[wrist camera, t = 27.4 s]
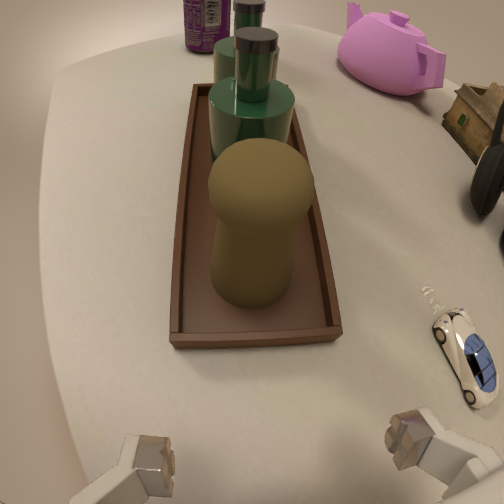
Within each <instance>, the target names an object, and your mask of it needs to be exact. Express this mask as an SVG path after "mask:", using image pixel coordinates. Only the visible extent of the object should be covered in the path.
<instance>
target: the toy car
mask: <svg viewBox="0 0 504 504" xmlns="http://www.w3.org/2000/svg"><path fill="white" fill-rule="evenodd" d="M426 287H427V286H426ZM429 288H430V287H429ZM423 289H424V288H423ZM425 289H427V288H425ZM421 290H422V289H421ZM431 290H432V289H431ZM433 291H434V290H433ZM427 292H428V291H427ZM430 292H431V291H429V293H430ZM425 293H426V292H425ZM426 294H428V293H426ZM423 295H424V294H423ZM432 299H433V298H432ZM432 299H431V300H432ZM432 302H433V301H432ZM429 304H430V303H429ZM436 306H437V305H436ZM436 306H435V307H436ZM439 307H440V306H439ZM439 307H437V308H439ZM441 308H444V307H441ZM434 310H436V308H435V309H434ZM436 312H437V311H436ZM448 312H452V313H451V314H450V313H449V314H450V315H454V313H453V312H455V313H456V312H457V313H456V314H455V315H454V317H453V320H452V321H451V319H450V317H449V316H448V315H449V314H447V312H446V314H443V315H442V316H441V317H440V318H439V319H438V320H437V321H436V323H435V325H434V328H435V327H437V328H436V329H435V331H434V335H435V338H436V339H437V341H438V342H440V343H444V342H445V341H446V342H445V343H444V344H443V345H442V347H443V349H444V351H445V353H446V355H447V356H448V358H449V360H450V362H451V364H452V366H453V368H454V370H455V372H456V374H457V375H458V377H459V379H460V380H461V384H462V388H463V390H466V391H465V393H464V398H465V400H466V401H467V402H468V403H470V404H472V405H471V406H472V407H474V408H482V407H484V406H486V405H488V404H489V403H491V402H492V401H493V400H494V399H495V397H496V396H497V395H498V393H499V388H500V377H499V373H498V371H497V369H496V368H495V366H494V363H493V359H492V358H491V355H490V353H489V351H488V349H487V347H486V346H485V345H484V341H483V340H482V339H481V337H480V336H479V334H478V333H477V331H476V330H475V329H474V326H473V322H472V319H471V316H470V314H469V313H468V312H467V311H466V310H465V309H462V308H458V309H457V308H455V309H454V310H451V311H448ZM432 314H434V313H432ZM444 320H445V321H444ZM443 322H444V323H443Z"/></svg>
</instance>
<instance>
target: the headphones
mask: <svg viewBox="0 0 504 504" xmlns="http://www.w3.org/2000/svg"><path fill="white" fill-rule="evenodd" d="M503 125H504V100H503V102H502V104H501V107H500V109H499V112H498V116H497V119H496V123H495V126H494V130H493V134H492V138H491V142H490V146H487V147H486V148H485V150H484V151H483V153H482V155H481V157H480V159H479V161H478V163H477V165H476V168H475V171H474V174H473V177H472V181H471V185H470V190H469V194H470V196H471V201H472V204H473V207H474V209H475V210H476V211H477V212H479V213H480V214H484V215H487V214H489V213H490V212H491V211H492V210H493V208H494V207H495V205H496V203H497V201H498V199H499V197H500V195H501V192H502V190H503V187H504V143H503V142H500V139H501V135H502V130H503Z"/></svg>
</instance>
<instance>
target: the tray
mask: <svg viewBox="0 0 504 504" xmlns="http://www.w3.org/2000/svg"><path fill="white" fill-rule="evenodd" d="M213 85H214V83H209V84H193V90H192V96H191V102H190V108H189V115H188V122H187V128H186V136H185V143H184V150H183V158H182V166H181V175H180V184H179V193H178V203H177V214H176V225H175V237H174V250H173V265H172V282H171V303H170V334H169V341H170V343H171V344H172V345H173V347H174V348H240V347H263V346H281V345H296V344H308V343H320V342H331V341H335V340H336V339H337V338H338V337H340V336H341V335H342V334H343V331H342V326H341V325H342V324H341V318H340V312H339V306H338V300H337V294H336V288H335V282H334V277H333V271H332V266H331V261H330V256H329V250H328V245H327V241H326V236H325V231H324V226H323V221H322V217H321V212H320V208H319V203H318V199H317V194H316V190H315V186H314V198H313V201H312V204H311V206H310V208H309V210H308V212H307V214H306V216H305V218H304V219H303V220H302V221H301V222H300V223H299V224H298V225H297V226H296V227H295V238H294V250H293V262H292V273H291V283H290V285H289V287H288V289H287V291H286V293H285V294H284V295H283V296H282V297H281V298H280V299H279V300H278V301H277V302H275V303H273V304H271V305H269V306H267V307H265V308H259V309H252V310H251V309H245V308H239V307H236V306H234V305H232V304H230V303H228V302H226V301H225V300H224V299H223V298H222V297H221V296H220V295H219V294H218V293H217V292H216V290H215V288H214V286H213V284H212V282H211V277H210V264H211V258H212V252H213V246H214V239H215V233H216V227H217V221H218V216H217V214H216V212H215V211H214V209H213V207H212V205H211V203H210V198H209V189H208V179H209V175H210V172H211V151H210V129H209V102H208V94H209V91H210V89H211V87H212V86H213ZM286 86H287V87H288V85H286ZM287 144H288V145H289V146H291V147H292V148H294V149H295V150H297V151H298V152H299V153H300V154H301V155H302V156H303V157H304V159H305V160H306V161H307V163H308V165H309V161H308V157H307V153H306V149H305V145H304V141H303V138H302V134H301V130H300V126H299V123H298V119H297V116H296V112H295V108H293V113H292V119H291V124H290V130H289V135H288V141H287ZM309 167H310V165H309Z"/></svg>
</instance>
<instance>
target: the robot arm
mask: <svg viewBox="0 0 504 504" xmlns="http://www.w3.org/2000/svg"><path fill="white" fill-rule="evenodd" d="M390 424H391V426H390V427H389V428H388V429H387V430H386V433H385V445H386V447H387V449H388V451H389V452H391V453H393V454H394V456H393V461H394V463H395V464H396V466H397V468H398V470H402V469H406V468H409V467H412V466H415V465H417V466H418V467H419V468H421V469H422V470H424V471H426V472H427V473H429V474H430V475H432V476H433V477H435V478H437V479H438V480H440V481H441V482H443V483H445V484H446V485H448V486H449V487H448V488H447V490H446V491H445V492H444V494H443V496H442V498H443V500H442V501H440V502H438V503H435V504H504V461H503V460H502V459H501V458H500V456H499V455H498V454H497V453H496V451H495V450H494V449H493V448H492V447H490V446H488V445H485V444H483V443H480V442H478V441H475V440H473V439H470V438H468V437H465V436H463V435H460V434H458V433H455V432H453V431H451V430H447V431H446V430H445V428H444V427H443V426H442V424H441V423H440V422H439V420H438V419H437V418H436V416H435V415H434V414H433V413H432V411H431V410H430V409H429V408H428V407H426V406H425V407H422V408H419V409H415V410H411V411H407V412H404V413H400V414H396V415H393V417H392V418H391V420H390ZM174 474H175V457H174V452H173V451H172V450H171V441H170V438H168V437H157V436H146V435H136V434H127V435H126V437H125V440H124V443H123V447H122V450H121V454H120V457H119V461H118V464H117V467H114V466H113V467H112V468H110V469H109V470H108V471H106V472H105V473H104V474H102V475H101V476H100V477H99V478H97V479H96V480H95V481H93V482H92V483H91V484H89V485H88V486H86V487H85V488H84V489H82V490H81V491H80V492H78V493H77V494H76V495H74V496H73V497H71V498H70V500H69V503H68V504H143V503H144V502H145V501H146V500H147V499H148V498H149V496H154V497H170V498H172V494H173V485H174V483H173V480H172V476H173V475H174ZM0 504H5V503H3V502H1V501H0Z"/></svg>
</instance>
